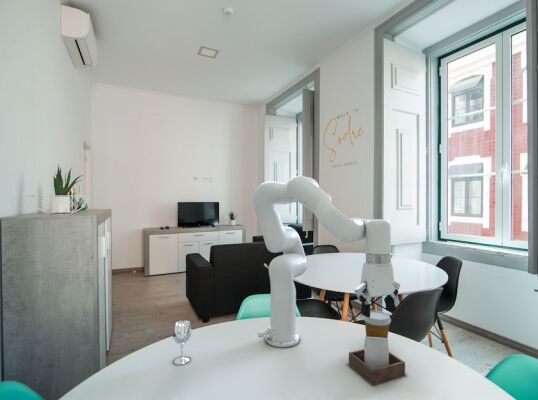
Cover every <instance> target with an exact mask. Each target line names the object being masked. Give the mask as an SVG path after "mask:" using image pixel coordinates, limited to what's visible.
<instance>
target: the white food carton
mask: <svg viewBox="0 0 538 400" xmlns="http://www.w3.org/2000/svg"><path fill="white" fill-rule="evenodd" d="M363 349H364V363H366V364H367V365H368V366H370V367H371V368H372V369H373V370H374V369H377V368H380V367H384V366H388V365H389V352H390V351H389V338H377V337H366V336H365V338H364V348H363Z"/></svg>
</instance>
